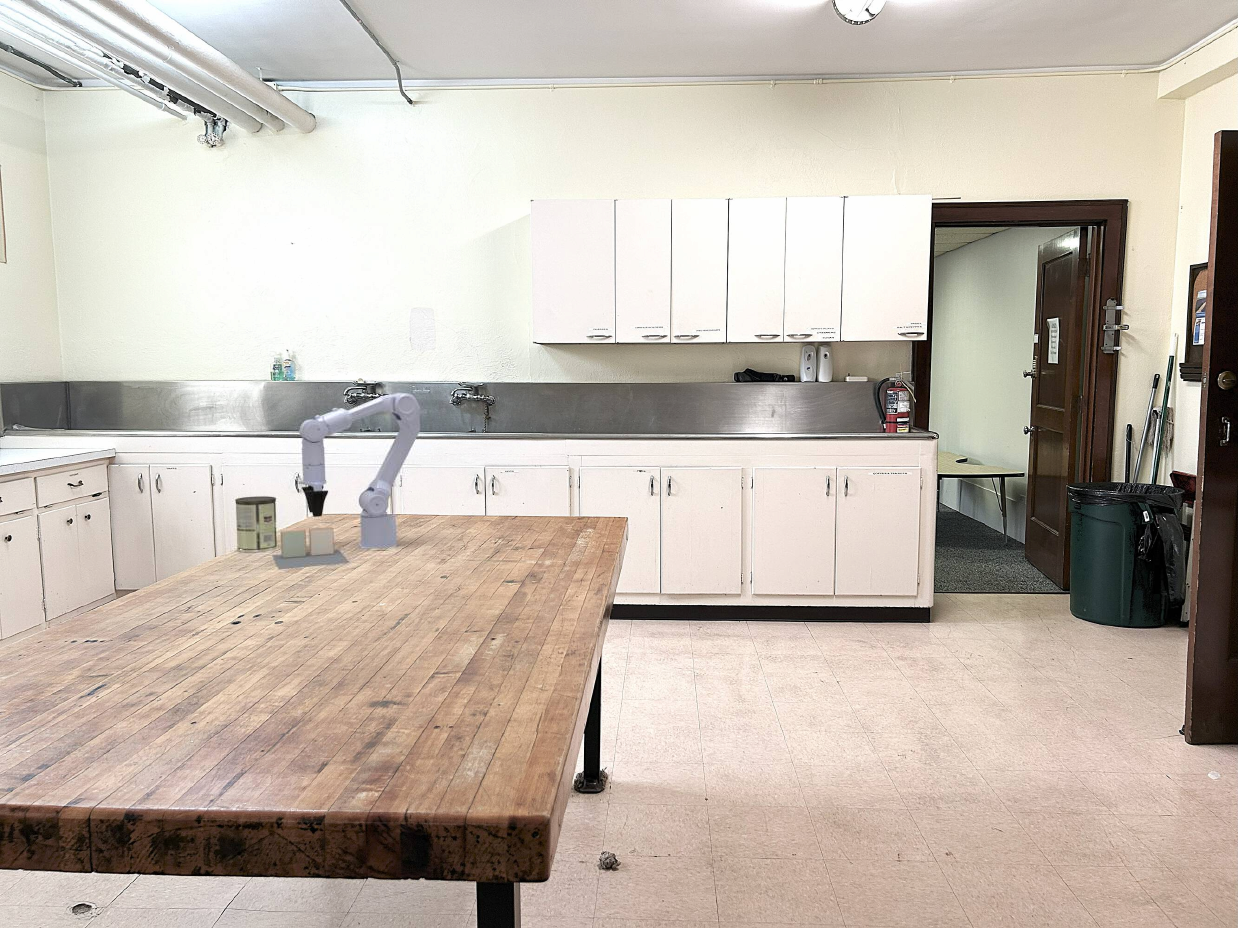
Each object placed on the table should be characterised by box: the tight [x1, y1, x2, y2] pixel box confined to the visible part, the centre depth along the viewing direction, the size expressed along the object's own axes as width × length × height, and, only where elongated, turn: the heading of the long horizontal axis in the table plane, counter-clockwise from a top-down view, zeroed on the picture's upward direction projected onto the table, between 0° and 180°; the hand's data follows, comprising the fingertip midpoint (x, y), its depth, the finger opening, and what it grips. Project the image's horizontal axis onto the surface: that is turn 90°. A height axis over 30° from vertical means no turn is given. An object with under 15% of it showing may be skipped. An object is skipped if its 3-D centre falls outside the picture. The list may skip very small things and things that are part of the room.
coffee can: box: [234, 495, 278, 553], centre depth 242 cm, size 10×10×14 cm
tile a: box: [308, 526, 335, 556], centre depth 234 cm, size 2×6×7 cm, turn 116°
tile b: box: [280, 528, 307, 559], centre depth 231 cm, size 2×6×7 cm, turn 116°
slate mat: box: [271, 549, 351, 570], centre depth 229 cm, size 17×18×1 cm
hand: (315, 514), depth 239 cm, fingers open, 7 cm apart
